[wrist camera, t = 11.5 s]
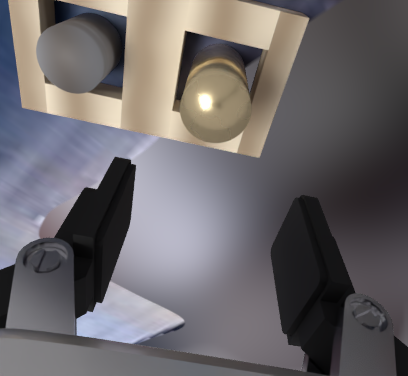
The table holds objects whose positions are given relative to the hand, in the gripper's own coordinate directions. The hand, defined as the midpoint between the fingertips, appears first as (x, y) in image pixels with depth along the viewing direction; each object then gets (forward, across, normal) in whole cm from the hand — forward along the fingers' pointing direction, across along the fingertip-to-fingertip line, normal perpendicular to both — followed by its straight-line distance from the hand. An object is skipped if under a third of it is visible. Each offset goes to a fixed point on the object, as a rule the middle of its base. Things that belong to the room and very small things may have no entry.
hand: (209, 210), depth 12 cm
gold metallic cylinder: (+18, 0, 0) cm, 18 cm away
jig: (+18, +5, 0) cm, 18 cm away
